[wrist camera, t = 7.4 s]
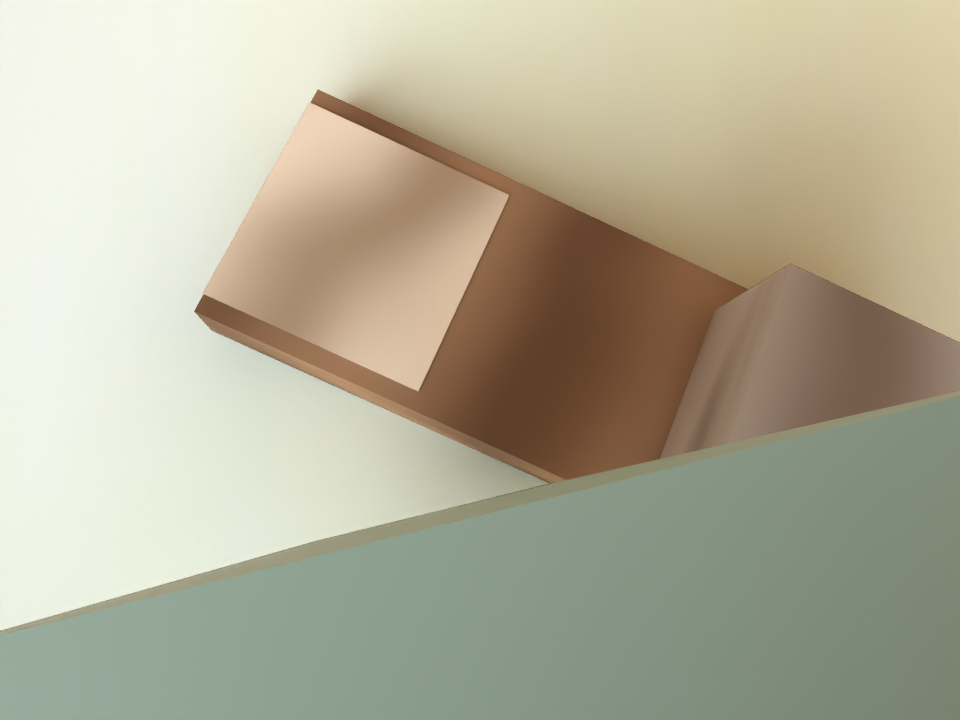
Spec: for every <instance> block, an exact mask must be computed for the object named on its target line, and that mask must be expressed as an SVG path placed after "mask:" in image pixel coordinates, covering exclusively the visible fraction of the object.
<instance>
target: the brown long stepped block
mask: <svg viewBox="0 0 960 720" xmlns="http://www.w3.org/2000/svg"><path fill="white" fill-rule="evenodd" d="M203 294H204V295H203V297H202V298H201V300H200V302H199V304H198V305H197V307H196V309H195V311H194V312H195V313H196V314H197V315H198V316H199V317H200V318H201V319H202V320H203V321H204V322H205V324H206V325H207V326H208V327H209V328H210V329H211V330H212V331H214V332H217V333H219V334H221V335H223V336H225V337H228V338H230V339H232V340H234V341H236V342H239V343H241V344H243V345H245V346H248V347H250V348H252V349H254V350H256V351H259V352H261V353H263V354H265V355H267V356H270V357H272V358H274V359H276V360H279V361H281V362H283V363H285V364H287V365H290V366H292V367H294V368H296V369H298V370H301V371H303V372H305V373H307V374H309V375H312V376H314V377H316V378H318V379H321V380H323V381H325V382H327V383H329V384H332V385H334V386H336V387H338V388H340V389H343V390H345V391H347V392H349V393H351V394H354V395H356V396H358V397H360V398H363V399H365V400H367V401H369V402H371V403H374V404H376V405H378V406H380V407H382V408H385V409H387V410H389V411H391V412H393V413H396V414H398V415H400V416H402V417H405V418H407V419H409V420H411V421H413V422H416V423H418V424H420V425H422V426H424V427H427V428H429V429H431V430H433V431H435V432H438V433H440V434H442V435H444V436H447V437H449V438H451V439H453V440H455V441H458V442H460V443H462V444H464V445H466V446H469V447H471V448H473V449H475V450H478V451H480V452H482V453H484V454H486V455H489V456H491V457H493V458H495V459H497V460H500V461H502V462H504V463H506V464H508V465H511V466H513V467H515V468H517V469H520V470H522V471H524V472H526V473H528V474H531V475H533V476H535V477H537V478H539V479H542V480H544V481H546V482H548V483H550V484H552V483H556V482H561V481H565V480H569V479H574V478H578V477H583V476H587V475H591V474H596V473H600V472H605V471H609V470H613V469H618V468H622V467H627V466H631V465H636V464H640V463H644V462H649V461H653V460H658V459H662V458H666V457H671V456H675V455H680V454H684V453H689V452H693V451H697V450H702V449H706V448H711V447H715V446H719V445H724V444H728V443H733V442H737V441H741V440H746V439H750V438H755V437H759V436H764V435H768V434H772V433H777V432H781V431H786V430H790V429H794V428H799V427H803V426H808V425H812V424H816V423H821V422H825V421H830V420H834V419H839V418H843V417H847V416H852V415H856V414H861V413H865V412H869V411H874V410H878V409H883V408H887V407H892V406H896V405H900V404H905V403H909V402H914V401H918V400H922V399H927V398H931V397H936V396H940V395H944V394H949V393H953V392H958V391H960V342H958V341H955V340H953V339H951V338H949V337H947V336H945V335H943V334H940V333H938V332H936V331H934V330H932V329H930V328H928V327H925V326H923V325H921V324H919V323H917V322H915V321H913V320H910V319H908V318H906V317H904V316H902V315H900V314H898V313H895V312H893V311H891V310H889V309H887V308H885V307H883V306H880V305H878V304H876V303H874V302H872V301H870V300H868V299H865V298H863V297H861V296H859V295H857V294H855V293H853V292H851V291H848V290H846V289H844V288H842V287H840V286H838V285H836V284H833V283H831V282H829V281H827V280H825V279H823V278H821V277H818V276H816V275H814V274H812V273H810V272H808V271H806V270H803V269H801V268H799V267H797V266H795V265H793V264H789V265H788V266H786V267H784V268H783V269H781V270H779V271H778V272H776V273H775V274H773V275H771V276H770V277H768V278H767V279H765V280H763V281H762V282H760V283H759V284H757V285H755V286H754V287H752V288H750V289H749V290H748V289H746V288H744V287H742V286H740V285H737V284H735V283H733V282H731V281H729V280H727V279H724V278H722V277H720V276H718V275H716V274H714V273H712V272H709V271H707V270H705V269H703V268H701V267H699V266H696V265H694V264H692V263H690V262H688V261H686V260H684V259H681V258H679V257H677V256H675V255H673V254H671V253H669V252H666V251H664V250H662V249H660V248H658V247H656V246H653V245H651V244H649V243H647V242H645V241H643V240H641V239H638V238H636V237H634V236H632V235H630V234H628V233H626V232H623V231H621V230H619V229H617V228H615V227H613V226H610V225H608V224H606V223H604V222H602V221H600V220H598V219H595V218H593V217H591V216H589V215H587V214H585V213H583V212H580V211H578V210H576V209H574V208H572V207H570V206H567V205H565V204H563V203H561V202H559V201H557V200H555V199H552V198H550V197H548V196H546V195H544V194H542V193H539V192H537V191H535V190H533V189H531V188H529V187H527V186H524V185H522V184H520V183H518V182H516V181H514V180H512V179H509V178H507V177H505V176H503V175H501V174H499V173H496V172H494V171H492V170H490V169H488V168H486V167H484V166H481V165H479V164H477V163H475V162H473V161H471V160H469V159H466V158H464V157H462V156H460V155H458V154H456V153H453V152H451V151H449V150H447V149H445V148H443V147H441V146H438V145H436V144H434V143H432V142H430V141H428V140H425V139H423V138H421V137H419V136H417V135H415V134H413V133H410V132H408V131H406V130H404V129H402V128H400V127H398V126H395V125H393V124H391V123H389V122H387V121H385V120H382V119H380V118H378V117H376V116H374V115H372V114H370V113H367V112H365V111H363V110H361V109H359V108H357V107H355V106H352V105H350V104H348V103H346V102H344V101H342V100H339V99H337V98H335V97H333V96H331V95H329V94H327V93H324V92H322V91H320V90H317V92H316V94H315V96H314V97H313V99H312V101H311V103H310V102H309V104H308V106H307V107H306V109H305V111H304V113H303V114H302V116H301V118H300V120H299V122H298V123H297V125H296V127H295V129H294V131H293V132H292V134H291V136H290V138H289V140H288V141H287V143H286V145H285V147H284V149H283V150H282V152H281V154H280V156H279V158H278V159H277V161H276V163H275V165H274V166H273V168H272V170H271V172H270V174H269V175H268V177H267V179H266V181H265V183H264V184H263V186H262V188H261V190H260V192H259V193H258V195H257V197H256V199H255V201H254V202H253V204H252V206H251V208H250V209H249V211H248V213H247V215H246V217H245V218H244V220H243V222H242V224H241V226H240V227H239V229H238V231H237V233H236V235H235V236H234V238H233V240H232V242H231V244H230V245H229V247H228V249H227V251H226V253H225V254H224V256H223V258H222V260H221V261H220V263H219V265H218V267H217V269H216V270H215V272H214V274H213V276H212V278H211V279H210V281H209V283H208V285H207V287H206V288H205V290H204V292H203Z"/></svg>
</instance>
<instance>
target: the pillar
mask: <svg viewBox="0 0 960 720" xmlns="http://www.w3.org/2000/svg"><path fill="white" fill-rule="evenodd" d="M0 720H960V391H958V392H953V393H949V394H944V395H940V396H936V397H931V398H927V399H922V400H918V401H914V402H909V403H905V404H900V405H896V406H892V407H887V408H883V409H878V410H874V411H869V412H865V413H861V414H856V415H852V416H847V417H843V418H839V419H834V420H830V421H825V422H821V423H816V424H812V425H808V426H803V427H799V428H794V429H790V430H786V431H781V432H777V433H772V434H768V435H764V436H759V437H755V438H750V439H746V440H741V441H737V442H733V443H728V444H724V445H719V446H715V447H711V448H706V449H702V450H697V451H693V452H689V453H684V454H680V455H675V456H671V457H666V458H662V459H658V460H653V461H649V462H644V463H640V464H636V465H631V466H627V467H622V468H618V469H613V470H609V471H605V472H600V473H596V474H591V475H587V476H583V477H578V478H574V479H569V480H565V481H561V482H556V483H552V484H547V485H543V486H538V487H534V488H530V489H526V490H522V491H518V492H514V493H510V494H505V495H501V496H497V497H493V498H489V499H485V500H481V501H477V502H473V503H469V504H465V505H461V506H457V507H453V508H448V509H444V510H440V511H436V512H432V513H428V514H424V515H420V516H416V517H412V518H408V519H404V520H400V521H396V522H391V523H387V524H383V525H379V526H375V527H371V528H367V529H363V530H359V531H355V532H351V533H347V534H343V535H339V536H334V537H330V538H326V539H322V540H318V541H314V542H310V543H307V544H303V545H300V546H296V547H293V548H289V549H286V550H282V551H279V552H275V553H272V554H268V555H265V556H261V557H258V558H254V559H251V560H247V561H244V562H240V563H237V564H233V565H230V566H226V567H223V568H219V569H216V570H212V571H209V572H205V573H202V574H198V575H195V576H191V577H188V578H184V579H181V580H177V581H174V582H170V583H167V584H163V585H160V586H156V587H153V588H149V589H146V590H142V591H138V592H135V593H131V594H128V595H124V596H121V597H117V598H114V599H110V600H107V601H103V602H100V603H96V604H93V605H89V606H86V607H82V608H79V609H75V610H72V611H68V612H65V613H61V614H58V615H54V616H51V617H47V618H44V619H40V620H37V621H33V622H30V623H26V624H23V625H19V626H16V627H12V628H9V629H5V630H2V631H0Z"/></svg>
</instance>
